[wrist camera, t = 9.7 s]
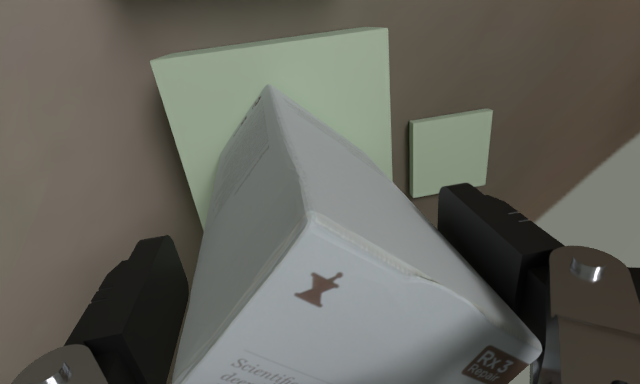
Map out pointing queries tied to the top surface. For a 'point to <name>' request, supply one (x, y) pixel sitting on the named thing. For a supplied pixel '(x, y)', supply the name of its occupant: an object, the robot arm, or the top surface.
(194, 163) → the sage riser block
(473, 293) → the skincare box
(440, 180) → the sage tile
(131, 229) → the top surface
